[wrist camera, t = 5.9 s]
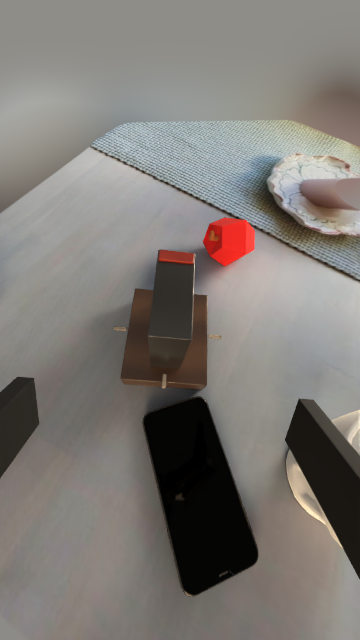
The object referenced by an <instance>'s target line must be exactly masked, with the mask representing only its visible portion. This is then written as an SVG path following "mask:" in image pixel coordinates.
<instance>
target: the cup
mask: <svg viewBox="0 0 360 640" xmlns="http://www.w3.org/2000/svg"><path fill="white" fill-rule="evenodd" d="M331 422H332V423H333V424H334V425H335V426H336V427H337V429H338V430H339V431H340V432H341V433H342V435H343V436H344V437H345V438H346V439H347V441H348V442H349V443H350V444H351V445H352V447H353V448H354V449H355V450H356V451H357V452H358V454H359V455H360V410H358V411H355V412H352V413H349V414H346V415H343V416H341V417H338V418H335V419H332V420H331ZM286 468H287V476H288V481H289V484H290V487H291V489H292V492H293V494H294V496H295V498H296V500H297V501H298V502H299V503H300V505H301V506H302V507H303V508H304V509H305V510H306V511H307V512H308V513H309V514H310V515H312V516H313V517H315V518H316V519H318V520H319V521H321V522H323V523H324V524H326V525H327V528H328V530H329V532H330V534H331V535H332V536H333V538H334V539H335V540H336V541H337V542H338V544H339V545H340V546H341V547H342V545H341V543H340V542H339V540H338V538H337V536H336V534H335V532H334V530H333V529H332V527H331V525H330V523H329V521H328V519H327V517H326V516H325V514H324V512H323V510H322V508H321V506H320V504H319V503H318V501H317V499H316V497H315V495H314V493H313V491H312V489H311V488H310V486H309V484H308V482H307V480H306V478H305V476H304V475H303V473H302V471H301V469H300V467H299V465H298V463H297V462H296V460H295V458H294V456H293V454H292V452H291V450H290V449H289V451H288V455H287V459H286ZM342 548H343V547H342Z"/></svg>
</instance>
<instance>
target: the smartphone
mask: <svg viewBox="0 0 360 640" xmlns="http://www.w3.org/2000/svg"><path fill="white" fill-rule="evenodd" d="M143 428H144V432H145V437H146V441H147V445H148V449H149V454H150V458H151V462H152V466H153V471H154V475H155V479H156V483H157V488H158V492H159V496H160V500H161V505H162V509H163V513H164V517H165V521H166V526H167V531H168V536H169V540H170V544H171V548H172V551H173V555H174V560H175V564H176V568H177V572H178V577H179V581H180V585H181V587H182V590H183V592H184V593H185V594H186V595H187V596H190V597H193V596H196V595H199V594H200V593H202V592H204V591H206V590H208V589H210V588H212V587H214V586H216V585H218V584H220V583H222V582H224V581H226V580H227V579H229V578H231V577H233V576H235V575H237V574H239V573H241V572H243V571H245V570H246V569H248V568H250V567H252V566H253V565H254V564H255V563H256V562H257V560H258V548H257V544H256V541H255V538H254V536H253V533H252V529H251V526H250V524H249V521H248V517H247V514H246V512H245V509H244V506H243V504H242V500H241V497H240V494H239V492H238V490H237V487H236V484H235V481H234V478H233V475H232V472H231V469H230V467H229V464H228V461H227V458H226V455H225V452H224V449H223V446H222V444H221V441H220V438H219V435H218V432H217V429H216V426H215V423H214V421H213V418H212V415H211V412H210V409H209V406H208V404H207V401H206V400H205V399H204V398H203V397H200V396H197V397H193V398H190V399H187V400H184V401H181V402H178V403H175V404H172V405H169V406H166V407H163V408H160V409H157V410H154V411H151V412H149V413H147V414H146V415H145V416H144V418H143Z"/></svg>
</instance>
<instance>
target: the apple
mask: <svg viewBox="0 0 360 640" xmlns="http://www.w3.org/2000/svg"><path fill="white" fill-rule="evenodd" d="M254 235H255V231H254V229H253V228H252V227H251V226H250V224H249V223H248V222H247V221H246V220H240V219H233V218H222V219H220V220H218V221H215V222H213V223H211V224H209V227H208V230H207V232H206V235H205V238H204V240H203V243H204V245H205V247H206V249H207V251H208V253H209V255H210V256H211V257H212V258H214V259H215V260H217V261H218V262H219V263H221V264H222V265H224V266H226V265H228V264H230V263H232V262H233V261H235V260H237V259H239V258H241V257H243V256H244V255H246V254H248V253H249V252H251V251H253V250H254Z"/></svg>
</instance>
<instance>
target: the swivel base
mask: <svg viewBox="0 0 360 640" xmlns="http://www.w3.org/2000/svg"><path fill="white" fill-rule="evenodd" d="M152 298H153V290H145V289H135V293H134V299H133V305H132V311H131V317H130V323H129V329H128V336H127V342H126V348H125V354H124V360H123V366H122V373H121V380H122V382H123V383H124V384H131V385H145V386H158V387H162V388H165V387H172V388H185V389H199V390H202V389H203V388H204V387H205V386H206V385H207V299H208V296H206V295H196V294H194V301H193V328H192V341H191V343H190V346H189V348H188V351H187V353H186V356H185V358H184V361H183V363H182V366H181V368H180V369H176V368H163V367H151V366H150V355H149V343H148V331H149V323H150V315H151V307H152ZM114 330H122V331H126V330H127V327H115V326H114ZM209 338H214V339H221V336H217V335H209Z"/></svg>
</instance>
